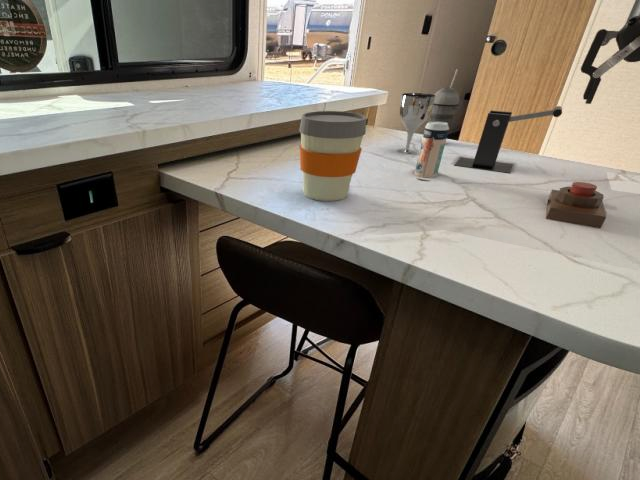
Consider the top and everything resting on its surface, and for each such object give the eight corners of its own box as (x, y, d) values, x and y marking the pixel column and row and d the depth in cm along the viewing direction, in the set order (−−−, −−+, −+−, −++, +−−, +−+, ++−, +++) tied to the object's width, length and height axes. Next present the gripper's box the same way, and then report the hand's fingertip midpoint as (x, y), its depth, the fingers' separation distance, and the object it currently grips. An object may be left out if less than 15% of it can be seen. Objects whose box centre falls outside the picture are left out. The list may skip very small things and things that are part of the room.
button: (568, 189, 77) (572, 180, 76) (592, 193, 76) (596, 184, 75) (568, 195, 75) (573, 185, 74) (593, 199, 73) (597, 189, 72)
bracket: (511, 168, 102) (531, 112, 95) (508, 177, 96) (529, 118, 88) (459, 161, 107) (474, 107, 100) (452, 169, 101) (468, 113, 94)
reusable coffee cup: (342, 182, 92) (352, 109, 84) (365, 202, 82) (379, 121, 74) (287, 185, 91) (292, 111, 82) (305, 206, 80) (312, 123, 72)
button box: (547, 200, 83) (555, 180, 81) (596, 207, 79) (606, 187, 77) (545, 219, 75) (554, 197, 73) (600, 228, 71) (611, 206, 69)
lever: (561, 115, 91) (562, 103, 90) (561, 118, 87) (562, 106, 86) (491, 126, 98) (492, 115, 97) (489, 129, 95) (489, 118, 94)
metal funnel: (423, 161, 108) (439, 97, 99) (392, 159, 109) (404, 96, 101) (418, 153, 114) (432, 93, 106) (388, 152, 115) (399, 92, 107)
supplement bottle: (412, 175, 97) (424, 120, 91) (433, 176, 96) (447, 121, 90) (415, 181, 93) (428, 124, 87) (437, 182, 92) (452, 125, 86)
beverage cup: (427, 143, 125) (445, 67, 114) (451, 147, 120) (472, 68, 109) (415, 147, 120) (433, 68, 109) (439, 151, 116) (460, 70, 105)
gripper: (616, -20, 59) (567, 104, 68) (757, -26, 52) (682, 113, 61) (612, -16, 64) (567, 99, 73) (740, -21, 58) (673, 106, 67)
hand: (619, 105), depth 67 cm, fingers open, 8 cm apart
